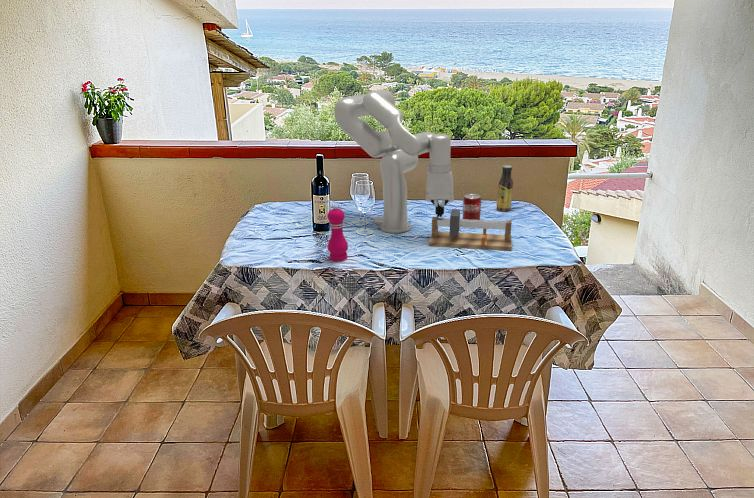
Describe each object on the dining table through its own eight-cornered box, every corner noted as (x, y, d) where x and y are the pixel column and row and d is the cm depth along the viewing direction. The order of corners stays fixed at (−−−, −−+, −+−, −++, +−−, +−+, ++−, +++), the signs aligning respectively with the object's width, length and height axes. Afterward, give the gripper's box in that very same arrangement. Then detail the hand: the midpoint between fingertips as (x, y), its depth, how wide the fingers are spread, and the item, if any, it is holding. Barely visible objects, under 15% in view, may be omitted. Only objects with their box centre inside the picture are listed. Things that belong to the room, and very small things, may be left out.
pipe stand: (428, 245, 194) (428, 223, 190) (432, 234, 205) (433, 212, 201) (511, 250, 187) (513, 227, 184) (511, 239, 198) (512, 216, 195)
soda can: (479, 227, 211) (481, 198, 207) (461, 226, 213) (462, 198, 208) (480, 221, 218) (481, 193, 213) (462, 220, 219) (463, 193, 215)
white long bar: (437, 226, 195) (437, 220, 194) (437, 223, 197) (438, 217, 196) (505, 229, 190) (505, 223, 189) (505, 227, 192) (505, 221, 191)
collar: (449, 236, 193) (450, 215, 190) (451, 229, 200) (452, 209, 197) (457, 236, 192) (458, 216, 189) (459, 229, 199) (460, 209, 196)
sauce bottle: (493, 208, 233) (496, 165, 226) (506, 207, 235) (509, 163, 227) (501, 212, 227) (504, 168, 220) (513, 211, 229) (517, 166, 222)
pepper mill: (348, 254, 189) (346, 201, 181) (348, 261, 182) (345, 207, 174) (328, 254, 188) (325, 201, 181) (327, 262, 182) (324, 208, 174)
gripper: (418, 170, 189) (418, 218, 196) (459, 171, 186) (458, 219, 193) (421, 166, 196) (421, 212, 203) (461, 166, 193) (460, 213, 199)
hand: (439, 215), depth 198 cm, fingers closed
